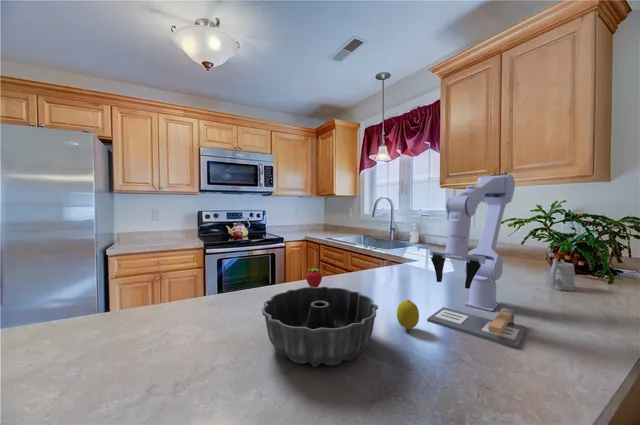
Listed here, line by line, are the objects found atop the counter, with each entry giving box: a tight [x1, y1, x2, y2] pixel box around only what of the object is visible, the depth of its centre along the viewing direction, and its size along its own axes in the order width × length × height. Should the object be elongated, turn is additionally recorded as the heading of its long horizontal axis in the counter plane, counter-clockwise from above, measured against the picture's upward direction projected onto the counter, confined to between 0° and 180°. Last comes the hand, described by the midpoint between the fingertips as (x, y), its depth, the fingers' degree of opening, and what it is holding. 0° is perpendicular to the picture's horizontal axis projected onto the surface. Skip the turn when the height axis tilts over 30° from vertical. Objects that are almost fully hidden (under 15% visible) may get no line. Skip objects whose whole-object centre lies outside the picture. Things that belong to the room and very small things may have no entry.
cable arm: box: [489, 307, 515, 335], centre depth 73 cm, size 16×3×2 cm, turn 136°
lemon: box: [396, 299, 420, 331], centre depth 73 cm, size 6×6×8 cm
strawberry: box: [305, 264, 323, 287], centre depth 105 cm, size 6×8×10 cm
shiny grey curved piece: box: [508, 317, 515, 326], centre depth 78 cm, size 3×3×2 cm
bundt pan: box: [261, 286, 379, 368], centre depth 65 cm, size 26×26×10 cm
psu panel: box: [426, 307, 527, 350], centre depth 76 cm, size 12×21×1 cm, turn 46°
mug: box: [549, 258, 576, 292], centre depth 111 cm, size 8×12×12 cm, turn 114°
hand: (452, 284), depth 79 cm, fingers open, 7 cm apart
